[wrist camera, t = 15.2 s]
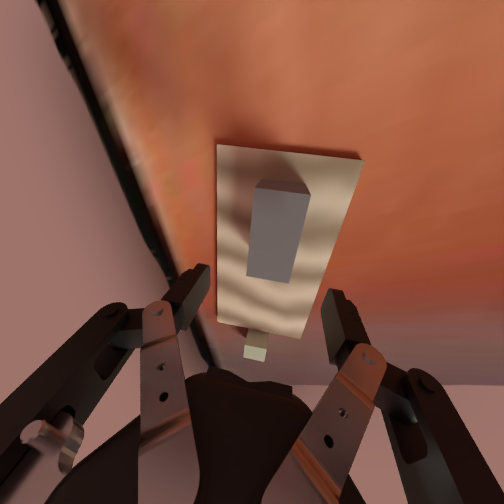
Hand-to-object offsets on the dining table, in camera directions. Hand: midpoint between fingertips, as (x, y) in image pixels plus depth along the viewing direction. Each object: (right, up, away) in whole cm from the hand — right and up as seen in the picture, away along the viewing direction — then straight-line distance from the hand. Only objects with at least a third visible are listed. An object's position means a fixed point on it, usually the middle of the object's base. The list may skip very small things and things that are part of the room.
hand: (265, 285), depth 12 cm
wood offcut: (0, -15, +25) cm, 29 cm away
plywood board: (+2, +1, +16) cm, 16 cm away
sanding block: (+2, +6, +11) cm, 13 cm away
